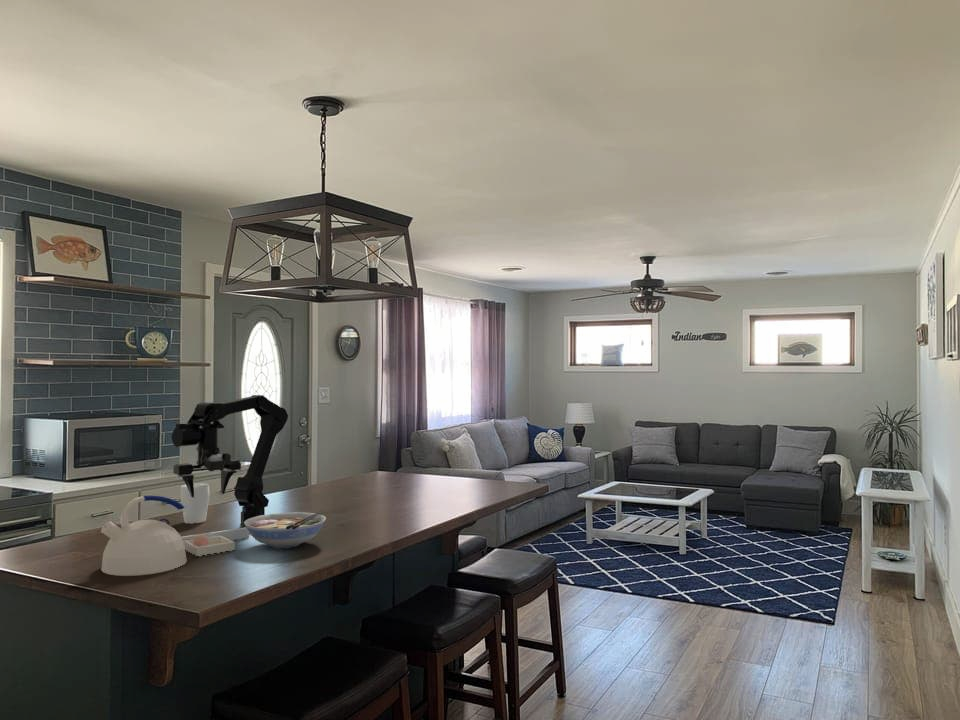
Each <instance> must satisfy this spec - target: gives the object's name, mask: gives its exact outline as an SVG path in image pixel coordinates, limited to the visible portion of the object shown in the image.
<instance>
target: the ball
mask: <svg viewBox="0 0 960 720" xmlns="http://www.w3.org/2000/svg"><path fill="white" fill-rule="evenodd" d="M193 544H194V545H196V546H198V547H202V546H208V544H209V539H208V537H207V536H205V535H198V536H196V537H195V539H194V542H193Z"/></svg>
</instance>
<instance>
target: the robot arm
mask: <svg viewBox="0 0 960 720" xmlns="http://www.w3.org/2000/svg"><path fill="white" fill-rule="evenodd" d="M248 410H254V411H255V413H256V414H257V415H258V416H259V417H260V420H259V421H260V422H259V425H260V434H259V438H258V441H257V443H256V446H255V449H254V452H253V455H252V458H251V461H250V462H249V466H248V468H247V471H246V473H245V475H244V476H238V477H237V480H236V484H235V486H234V487H233V490H234V493H233V495H234V497H235V499H236V500H237V503H238V505H239V507H241V509H242V510H241V511H240V523H239V525H240V526H241V527H242V528H245V527H246V526H245V524H244V522H245V521H246V520H247V519H250V518H253V517H256V516H261V515H266V513H265V511H266V510H265V508H266V507H268V505H269V502H270V500H269V498H268V497H266V495H264V492H263V491H264V482H263V475H264V473H265V470H266V467H267V464H268V460H269V459H270V458H269V457H270V455H271V452H272V449H273V446H274V443H275V441H276V437H277V435H279V433H280V432H281V431H282V430H283V429H284V427H285V425H286V423H287V421H288V418H289V414H288V412H287V410H286V408H284V407H280V406H279V404H277V403H275V402H274V401H271V400H269V399H268V398H267V397H266V396H264V395H263V394H262V395H261V394H260V395H259V394H252V395H251V396H247V397H241V398H237V399H232V400H229V401H228V400H227V401H222V402H199V403H197V404H196V406H195V407H194V412H193V413H192V415H191V416H190V418H189V419H188V421H187V422H186V423H181V422H180V423H176V424H175V428H174V429H173V431H172V434H171V441H172V444H173V445H174V446H175V447H176V448H180V447H181V448H182V447H189V446H190V447H191V446H196V445H197V447H196V451H197V460H196V464H191V463H188V462H186V463H185V462H183V463H176V464H175V465H173V470H172V473H173V474H174V475H177V476H178V477H180V478H182V480H183V482H184V483H185V485H186V486H187V488H188V490H189V493H190V495H191V497H192V498H193V497H194V486H193V484H194V478H195V475H193V474H192V473H193V472H203V471H209V472H214V471H220V491H221V494H222V495H225V492H226V490H227V487H228V484H229V481H230V480H231V477H232V475H234V474H235V473H236V474H237V473H238V472H237V471H239V470H242V463H241V461H240V460H238V459H233V458H231V457H232V455H231V453H230V452H224V453H220V447H219V443H218V442H219V440H218V437H219V433H218V432H219V431H218V430H219V429H225V425H223V424H222V423H221V422H220V421H221V420H222V419H225V417H227V416H228V415H231V414H236V413H240V412H241V413H242V412H244V411H248Z"/></svg>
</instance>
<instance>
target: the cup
mask: <svg viewBox="0 0 960 720" xmlns="http://www.w3.org/2000/svg"><path fill="white" fill-rule="evenodd" d="M193 486H194V497H193V498H192V497H191V495H190V493H189V490H188V488H187V486H186V484H182V485H181V486H180V494H179V496H180V504H182V505H183V506H184V508H183V509H181V510H182V516H183V523H185V524H188V523H189V525H190V524H193V525H194V523H196V524H201V523H205V522H206V520H207V514H208V507H209V501H210V500H209V499H210V495H211V494H210V484H209V483H205V482H204V483H202V482H201V483H197V482H196V483H194V482H193Z"/></svg>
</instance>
